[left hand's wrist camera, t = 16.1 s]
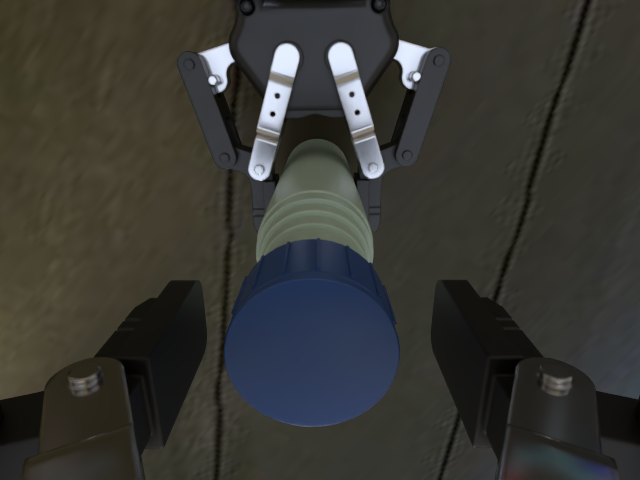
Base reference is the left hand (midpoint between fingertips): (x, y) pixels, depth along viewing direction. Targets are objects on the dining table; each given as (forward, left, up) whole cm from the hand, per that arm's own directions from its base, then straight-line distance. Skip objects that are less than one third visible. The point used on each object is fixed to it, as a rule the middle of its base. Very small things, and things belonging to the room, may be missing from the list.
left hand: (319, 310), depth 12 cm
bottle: (0, 0, -20) cm, 20 cm away
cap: (0, 0, +2) cm, 2 cm away
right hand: (-1, -2, -13) cm, 14 cm away
